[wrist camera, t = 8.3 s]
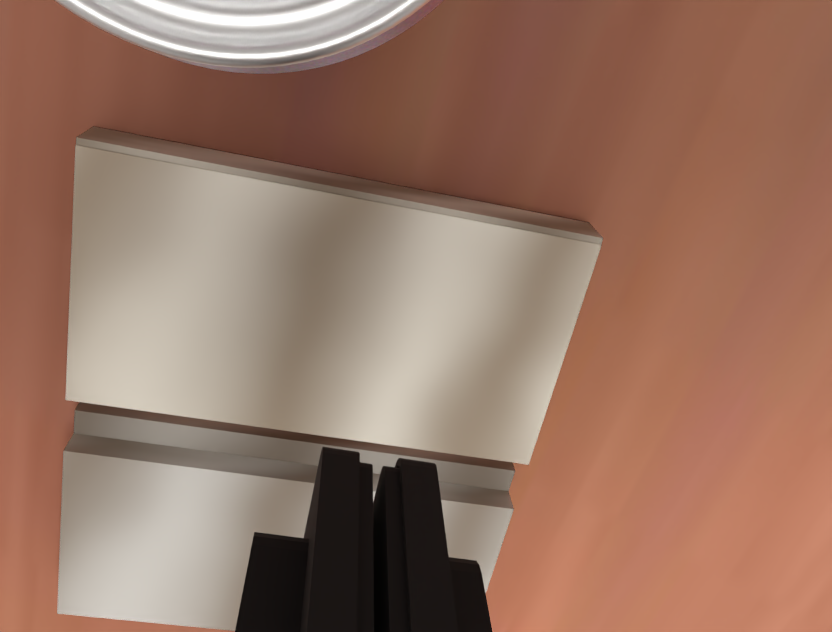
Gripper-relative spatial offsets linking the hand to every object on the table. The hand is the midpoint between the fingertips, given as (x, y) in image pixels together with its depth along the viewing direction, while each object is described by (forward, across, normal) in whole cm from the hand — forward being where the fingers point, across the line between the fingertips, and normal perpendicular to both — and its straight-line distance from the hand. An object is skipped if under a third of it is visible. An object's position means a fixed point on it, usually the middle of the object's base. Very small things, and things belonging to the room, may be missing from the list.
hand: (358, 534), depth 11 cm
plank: (+14, +1, +3) cm, 14 cm away
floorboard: (+14, +1, +12) cm, 18 cm away
